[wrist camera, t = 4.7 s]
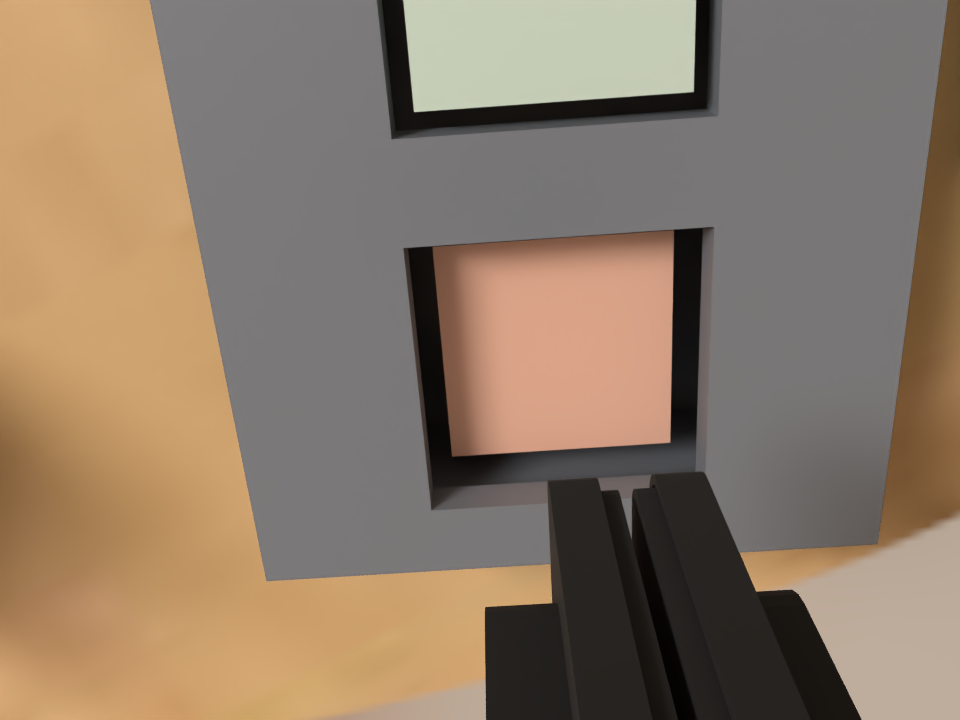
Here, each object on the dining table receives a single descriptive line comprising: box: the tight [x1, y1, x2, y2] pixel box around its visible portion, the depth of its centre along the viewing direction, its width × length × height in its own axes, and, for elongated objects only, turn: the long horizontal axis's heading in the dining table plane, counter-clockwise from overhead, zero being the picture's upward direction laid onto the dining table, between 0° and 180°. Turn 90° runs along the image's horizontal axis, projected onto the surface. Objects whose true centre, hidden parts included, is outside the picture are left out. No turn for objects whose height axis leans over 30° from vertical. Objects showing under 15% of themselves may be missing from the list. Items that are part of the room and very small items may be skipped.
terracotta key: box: [433, 230, 674, 457], centre depth 18 cm, size 4×4×2 cm
